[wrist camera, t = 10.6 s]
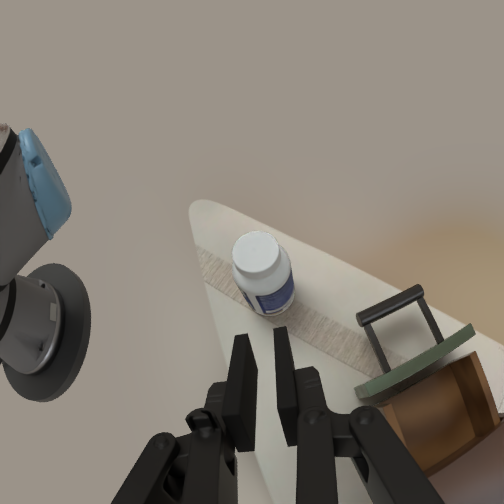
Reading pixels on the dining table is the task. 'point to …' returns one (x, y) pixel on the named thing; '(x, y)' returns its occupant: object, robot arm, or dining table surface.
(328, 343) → the dining table surface
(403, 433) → the drawer
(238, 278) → the pill bottle
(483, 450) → the cabinet
